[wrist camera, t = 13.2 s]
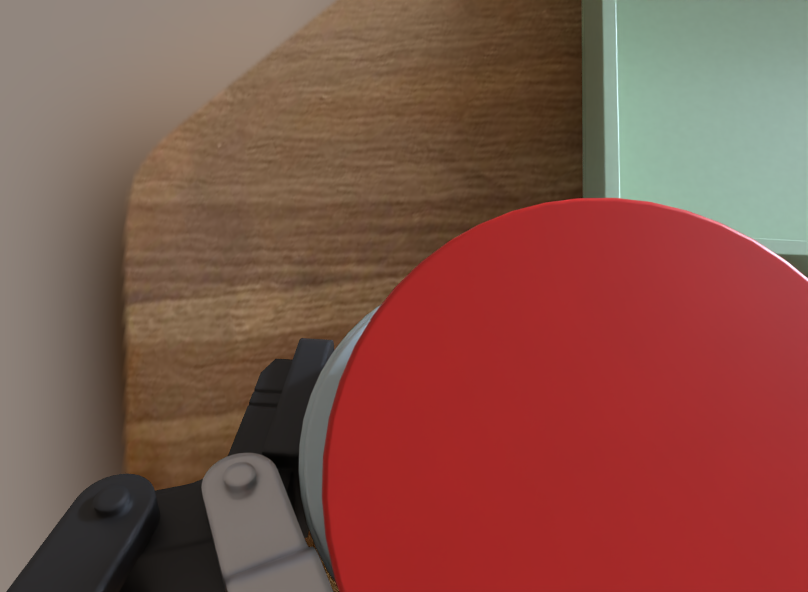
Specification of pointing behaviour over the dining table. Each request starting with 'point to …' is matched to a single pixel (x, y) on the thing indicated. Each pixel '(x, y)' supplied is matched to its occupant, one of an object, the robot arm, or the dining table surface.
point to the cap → (577, 412)
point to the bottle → (322, 437)
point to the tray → (701, 111)
